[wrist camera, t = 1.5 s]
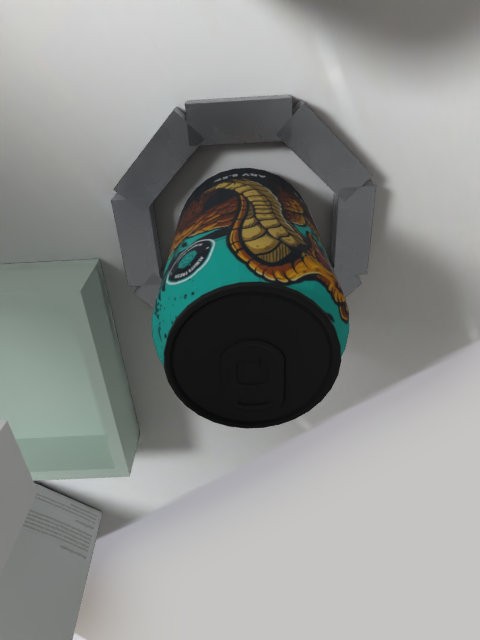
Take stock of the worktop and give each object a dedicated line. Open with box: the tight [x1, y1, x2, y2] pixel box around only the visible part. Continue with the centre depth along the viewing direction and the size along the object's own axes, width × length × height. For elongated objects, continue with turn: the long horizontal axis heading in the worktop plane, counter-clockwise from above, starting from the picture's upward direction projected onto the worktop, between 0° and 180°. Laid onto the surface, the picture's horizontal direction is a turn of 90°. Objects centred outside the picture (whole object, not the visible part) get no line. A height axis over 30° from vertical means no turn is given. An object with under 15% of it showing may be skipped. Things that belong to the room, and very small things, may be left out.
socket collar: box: [111, 95, 376, 308], centre depth 24 cm, size 13×13×1 cm
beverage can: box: [152, 168, 349, 428], centre depth 20 cm, size 7×7×12 cm
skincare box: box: [0, 483, 102, 640], centre depth 31 cm, size 8×7×16 cm
